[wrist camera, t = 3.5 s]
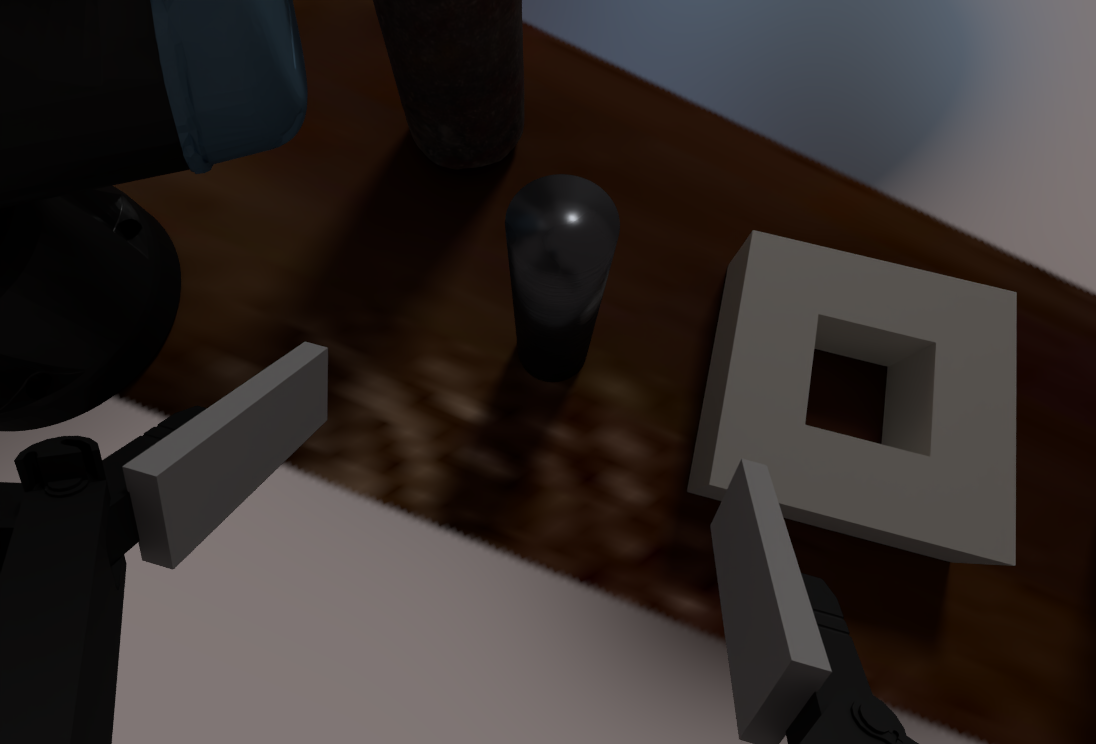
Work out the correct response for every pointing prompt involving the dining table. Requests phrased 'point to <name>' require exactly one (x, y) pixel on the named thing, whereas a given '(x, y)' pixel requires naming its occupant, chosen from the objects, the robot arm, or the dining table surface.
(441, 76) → the candle
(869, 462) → the hole block
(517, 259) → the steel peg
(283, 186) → the dining table surface
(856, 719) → the robot arm
